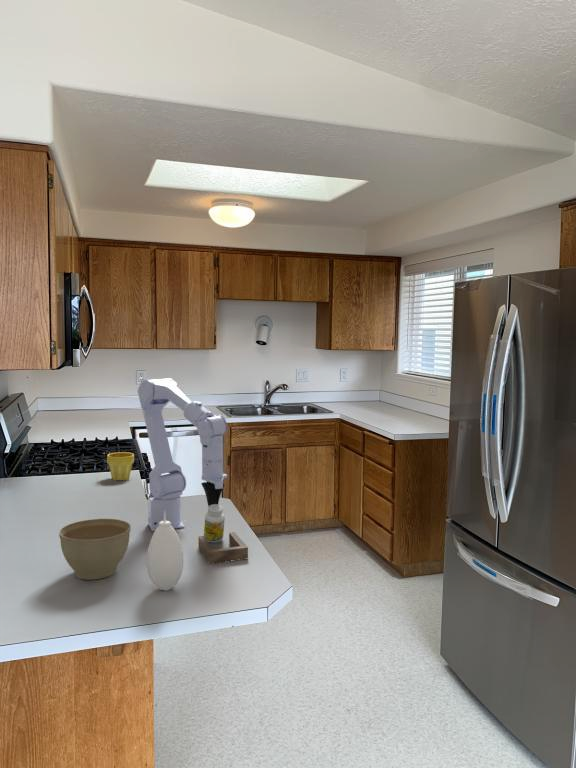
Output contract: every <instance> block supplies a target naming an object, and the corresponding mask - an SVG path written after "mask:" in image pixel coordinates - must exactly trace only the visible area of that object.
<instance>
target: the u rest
mask: <svg viewBox="0 0 576 768" xmlns="http://www.w3.org/2000/svg"><path fill="white" fill-rule="evenodd" d="M228 543H230V544H231V545H230V544H229V545H230V547H223V548H217V549H214V548H213V546H212V545H211V542H208V541H207V539H206V538H205V536H204V535H198V549H199V548H200V549H199V550H200V552H201V553H202V555H203V556H204V558H205V560H206V559H207V560H206V561H207V563H208V562H209V563H208V564H209V565H212V564H211V563H215V564H220V563H219V562H222V563H226V562H225V561H229V562H232V561H231V560H236V561H239V560H238V559H244V560H246V559H245V558H248V559H249V547H248V546H247V544H245V542H244V541H243V540H242V539H241V537H239V536H238V534H237V533H236V532H235V531H232V532H231V531H230V532H229V533H228Z"/></svg>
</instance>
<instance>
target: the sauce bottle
mask: <svg viewBox="0 0 576 768" xmlns="http://www.w3.org/2000/svg"><path fill="white" fill-rule="evenodd" d="M146 553H147V554H146V569H147V573H148V577H149V580H150V582H151V583H152V585H153V586H155V587H157V589H158V590H161V591H163V590H165V591H164V592H166V590H167V591H169V590H170V589H173V588H174V586H175V585H177V584H178V582H179V581H180V579H181V577H182V574H183V569H184V551H183V547H182V542H181V539H180V538H179V535H178V533H177V532H176V530H175V528H173V527H172V526H171V522H170V521H166V513H165V510H164V521H161V522H159V527H158V528H157V529H156V531H153V534H152V537H151V539H150V542H149V545H148V549H147V552H146Z"/></svg>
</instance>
